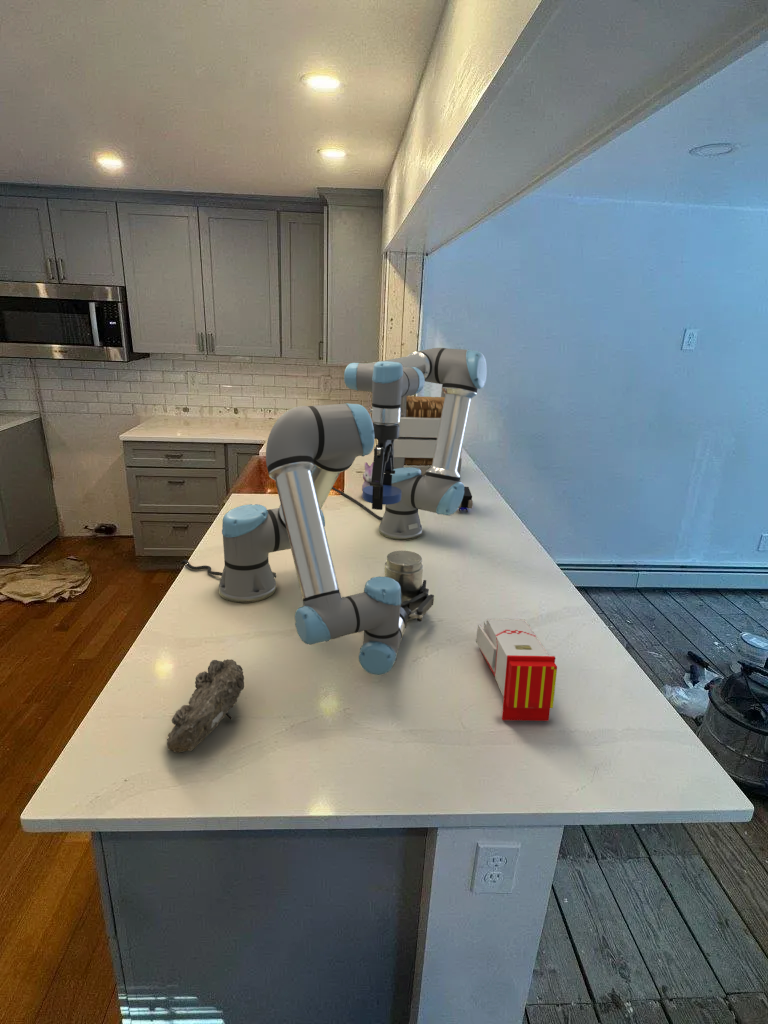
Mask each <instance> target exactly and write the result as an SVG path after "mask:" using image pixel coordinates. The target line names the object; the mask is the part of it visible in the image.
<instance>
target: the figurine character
mask: <svg viewBox="0 0 768 1024" xmlns="http://www.w3.org/2000/svg"><path fill="white" fill-rule="evenodd" d="M473 502H474V501H473V495H472V492H471V489H470V486H464V496H463V499H462V502H461V504H460V506H459V508H458V512H459V513H462V511H465V512H466V513H469V510H468V509H470V510H471V509H473V507H474V503H473Z"/></svg>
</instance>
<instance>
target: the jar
mask: <svg viewBox="0 0 768 1024" xmlns="http://www.w3.org/2000/svg"><path fill="white" fill-rule="evenodd" d="M423 572H424V564H423V556H421V554H419V553H417V552H414V551H410V550H394V551H391V552H389V553H388V554H387V555H386V561H385V562H384V575H383V577H389V578H392V579H394V580H395V581H397V582H398V583H399V584H400V587H401V603H402V602H404V601H406V600H408V601H409V600H411V599H413V598H414V597H416V596H418V595H420V590H421V587H422V584H423ZM415 610H416V609H415ZM415 610H413V611H411V612H414V611H415ZM414 619H416V618H413V617H411V618H410V619H409V620H408V621H412V620H414Z"/></svg>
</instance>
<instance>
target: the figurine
mask: <svg viewBox="0 0 768 1024" xmlns="http://www.w3.org/2000/svg"><path fill="white" fill-rule="evenodd" d="M372 470H373V462H372V463H371V464H370V465H369V464H368V462H367V461H366V462H364V472H363V474H362V479H363V483H362V485H361V491H362V493H361V498H362V499H363V488H365V487H367V486H370V483H371V479H372ZM378 482H379V481H378Z"/></svg>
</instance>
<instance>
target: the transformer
mask: <svg viewBox="0 0 768 1024" xmlns="http://www.w3.org/2000/svg"><path fill="white" fill-rule="evenodd" d="M440 393H441V394H440V396H415V395H412V396H405V397H401V413H400V422H399V423H398V424H399V425H400V428H399V437H398V438H397V439H395V440H394V469H397V468H405V466H406V467H409V466H411V467H417V466H418V467H431V466H432V462H433V457H434V452H435V446H436V441H437V436H438V430H439V425H440V420H441V414H442V409H443V404H444V398H445V393H444V392H443V390H442V389H441V392H440ZM462 453H463V447H462V448H461V453H460V459H459V464H458V469H457V471H458V473H459V475H460V476H461V472H462V461H463V460H462Z"/></svg>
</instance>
